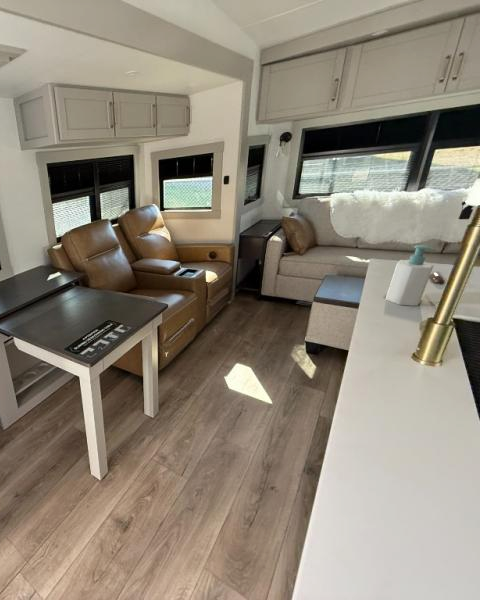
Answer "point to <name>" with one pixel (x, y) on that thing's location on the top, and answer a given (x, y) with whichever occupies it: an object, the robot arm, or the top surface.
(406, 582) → the top surface
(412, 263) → the soap bottle
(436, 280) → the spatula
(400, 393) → the top surface
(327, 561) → the top surface
